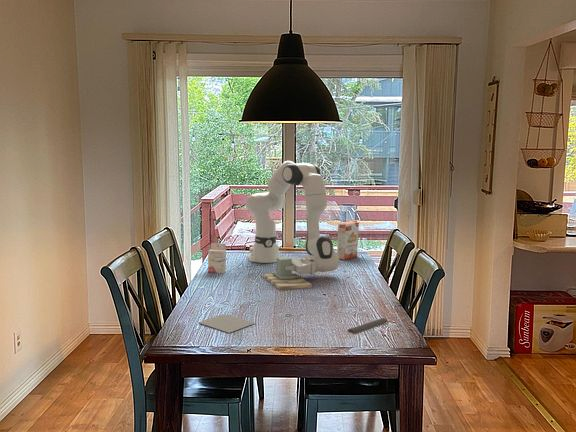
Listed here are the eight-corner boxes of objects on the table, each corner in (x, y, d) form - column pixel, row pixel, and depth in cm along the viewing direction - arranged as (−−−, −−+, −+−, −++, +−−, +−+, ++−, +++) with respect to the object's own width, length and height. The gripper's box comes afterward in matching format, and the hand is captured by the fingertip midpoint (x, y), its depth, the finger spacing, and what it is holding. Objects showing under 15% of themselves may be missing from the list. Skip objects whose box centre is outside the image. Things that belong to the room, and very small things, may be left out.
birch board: (263, 276, 283) (263, 273, 283) (292, 274, 289) (292, 271, 289) (279, 290, 259) (279, 286, 259) (311, 287, 265) (311, 284, 264)
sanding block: (272, 274, 282) (272, 256, 280) (287, 273, 284) (287, 255, 283) (280, 280, 271) (280, 261, 269) (295, 278, 273) (296, 260, 272)
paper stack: (240, 309, 230) (240, 308, 230) (287, 323, 215) (287, 321, 215) (197, 324, 212) (197, 322, 212) (246, 340, 197) (246, 338, 197)
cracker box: (345, 260, 323) (346, 224, 320) (336, 258, 327) (337, 223, 324) (358, 256, 334) (359, 221, 331) (349, 255, 337) (350, 220, 334)
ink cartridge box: (207, 272, 290) (207, 244, 287) (210, 270, 295) (210, 242, 292) (224, 273, 289) (224, 245, 287) (226, 271, 294) (226, 243, 292)
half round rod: (388, 323, 217) (389, 319, 216) (355, 335, 204) (355, 330, 203) (380, 321, 220) (380, 316, 220) (346, 332, 207) (347, 327, 206)
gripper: (300, 253, 290) (275, 255, 286) (316, 262, 271) (289, 264, 267) (300, 265, 291) (275, 267, 287) (315, 275, 272) (289, 277, 268)
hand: (282, 266), depth 276 cm, fingers closed on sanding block, 6 cm apart
